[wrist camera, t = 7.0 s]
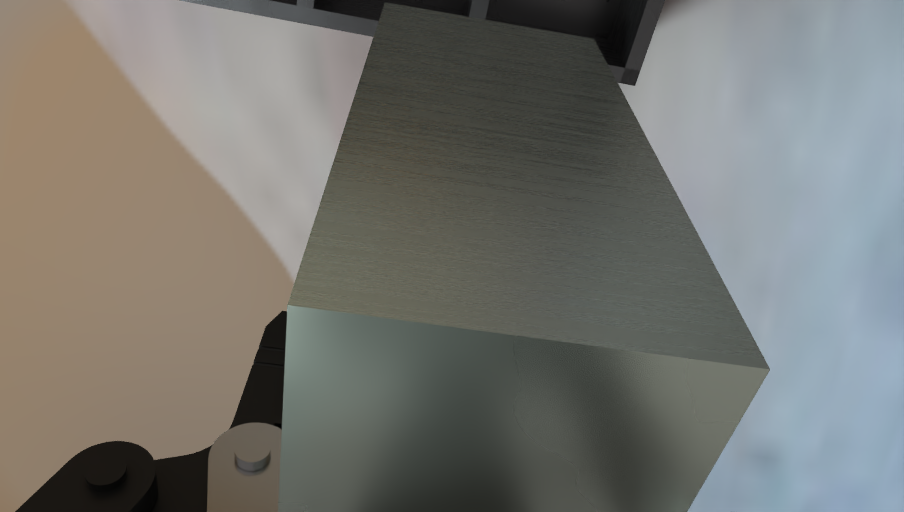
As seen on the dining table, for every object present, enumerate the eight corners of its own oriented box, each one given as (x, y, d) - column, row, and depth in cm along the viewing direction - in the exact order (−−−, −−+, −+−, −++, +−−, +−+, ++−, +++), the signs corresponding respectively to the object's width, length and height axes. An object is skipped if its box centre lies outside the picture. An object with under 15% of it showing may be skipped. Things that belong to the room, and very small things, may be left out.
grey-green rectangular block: (593, 38, 13) (771, 369, 6) (476, 452, 20) (488, 852, 12) (384, 2, 13) (287, 305, 5) (336, 436, 20) (263, 837, 12)
